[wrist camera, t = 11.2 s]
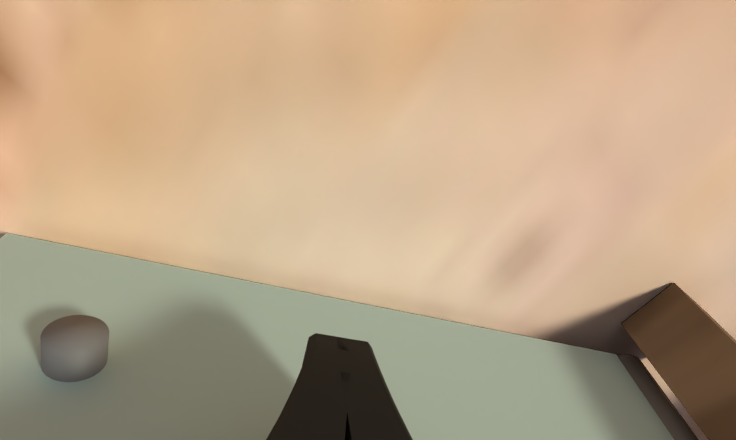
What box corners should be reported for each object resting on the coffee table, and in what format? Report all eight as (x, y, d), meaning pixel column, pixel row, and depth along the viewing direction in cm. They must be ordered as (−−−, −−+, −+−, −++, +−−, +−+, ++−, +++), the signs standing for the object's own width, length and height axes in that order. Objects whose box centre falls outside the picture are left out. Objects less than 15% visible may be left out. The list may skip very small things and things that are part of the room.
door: (657, 343, 16) (851, 582, 10) (621, 398, 17) (777, 647, 11) (5, 209, 13) (-290, 426, 7) (8, 285, 14) (-248, 533, 8)
